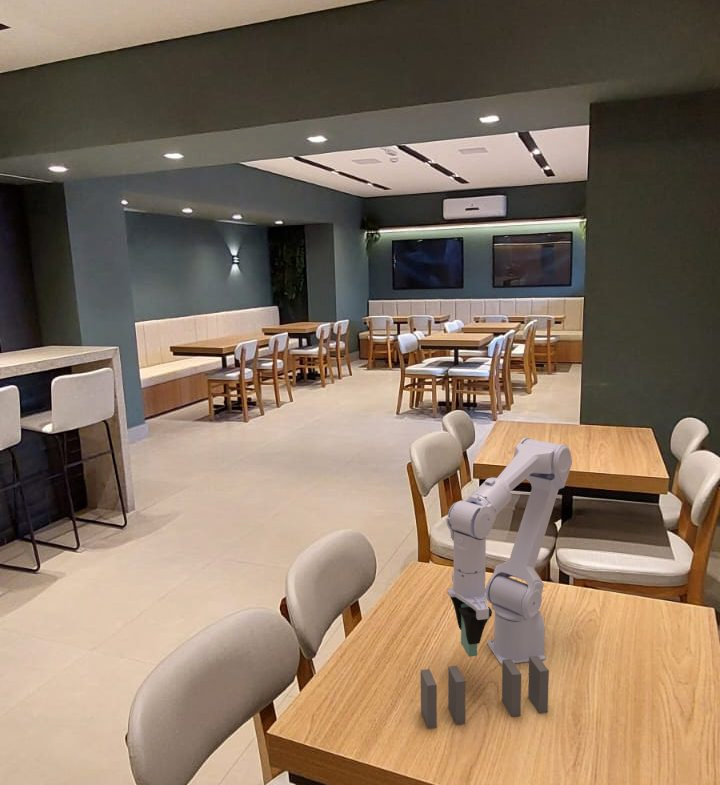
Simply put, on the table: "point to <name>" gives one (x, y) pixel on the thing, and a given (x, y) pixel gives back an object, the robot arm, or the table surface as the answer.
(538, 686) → the domino
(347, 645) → the table surface
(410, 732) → the table surface
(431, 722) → the domino
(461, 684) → the domino
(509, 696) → the domino
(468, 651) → the teal domino
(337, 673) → the table surface
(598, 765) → the table surface
